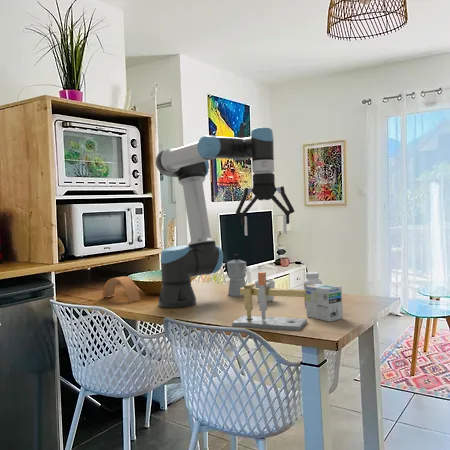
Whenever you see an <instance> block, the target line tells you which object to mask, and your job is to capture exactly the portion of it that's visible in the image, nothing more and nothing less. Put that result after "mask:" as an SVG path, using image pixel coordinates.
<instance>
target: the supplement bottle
mask: <svg viewBox="0 0 450 450" xmlns="http://www.w3.org/2000/svg"><path fill="white" fill-rule="evenodd" d="M319 276H320V272H316V271H309V272H306V273H305V277H306V278H305V280H303V290H306V286H307V285H314V284H323V281H322V280H321V279H320V278H319ZM303 298H304V308H306V297H303Z"/></svg>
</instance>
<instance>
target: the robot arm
mask: <svg viewBox="0 0 450 450" xmlns="http://www.w3.org/2000/svg"><path fill="white" fill-rule="evenodd" d="M250 131H251V132H250V136H248V137H233V136H232V137H231V136H229V137H228V136H216V135H210V134H209V135H203V136H201V137H200V138H199V140H198V141H195V142H193V143H189V144H187V145H184V146H181V147H177V148H171V147H169V148H166V149H162V150H160V151H159V152H158V154H157V156H156V158H155V166H156V168H157V170H158V171H159V172H160V173H161V175H163V176H166V177H169V178H177V179H178V180H177V181H178V183H179V184H180V185H181V186H182V189H183V197H184V202H185V210H186V211H185V212H186V215H187V223H188V231H189V237H190V242H189V243H188V244H186V245H185V244H182V245H181V244H180V245H176V246H175V245H174V246H170V247H167V248H164V249H162V251H161V252H160V267H161V269H160V271H161V290H160V293H159V296H158V307H161V308H164V309H165V308H166V309H178V308H187V307H192V306H195V305H196V304H197V297H196V295H195V292H194V289H193V287H192V281H191V280H192V279H191V278H192V277H197V276H203V275H204V276H205V275H212V274H216V273H218V272H219V271H220V270H221V268H222V265H223V262H224V252H223V250H222V249H221V247H220V246H219V245H217V244H216V241H215V239H213V238H212V237H211V235H212V234H211V230H210V228H211V227H210V222H209V215H208V211H207V210H208V209H207V203H206V198H205V191H204V184H203V183H204V182H205V181H206V177H207V176H208V174H209V169H210V165H209V164H210V163H209V161H211V160H215V159H230V160H234V161H245V160H248V159H251V166H252V167H251V169H252V173H253V175H252V188H249V187H245V188H244V189H243V195H242V198H241V199H240V202H239V204H238V206H237V209H236V211H235V215H237V216H240V225H241V226H242V227H243V226H244V236H248V217H247V216H246V214H247V213H248V212H249V210H250V209H251V208H252V206H253V205H254V204H255V203H256V202H257V201H269V200H272V202H274V203H275V205H277V207H278V208H279V209H280V210H281V211H282V212H283V215H282V226H283V227H282V231H283V234H284V235H287V234H288V232H287V231H288V230H287V226H288V225H289V224H290V215H291V214H293V213H294V212H295V209H294V207H293V205H292V203H291V201H290V199H289V198H288V196H287V194H286V190H285V187H284V185H283V186H282V185H281V186H279V187H276V183H275V182H276V179H275V174H274V172H275V154H274V135H273V129H272V128H270V127H255V128H253V129H251V130H250ZM251 192H252V194H253V195H254V197H252V199H251V201H250V202H249V203H248V205H247V206H246V207H244V209H243V211H242V208H243V206H244V204H245V202H246V200H247V198H248V195H250V194H251ZM276 192H278V194H280V195H281V197H282V200H283V201H284V203H285V205H286V207H287V208H286V207H285V206H284V205H283V203H281V201H280V200H279V199H278V198H277V196H275V194H276ZM241 211H242V212H241Z"/></svg>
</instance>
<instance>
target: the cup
mask: <svg viewBox="0 0 450 450" xmlns="http://www.w3.org/2000/svg"><path fill="white" fill-rule="evenodd" d="M254 283H255V288H259V287H258V280H256V281H254ZM266 283H270V289H275V287H276V286H275V284H276V281H275V280H272V279H266ZM274 297H275V296H267V303H268V302H273V300H274ZM256 299H257V301H259V295H256Z"/></svg>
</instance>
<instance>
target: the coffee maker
mask: <svg viewBox="0 0 450 450" xmlns="http://www.w3.org/2000/svg"><path fill="white" fill-rule="evenodd" d="M239 257H240V255H239V253H238V254H237V253H235V254H233V258H234V259H231V260H227V261H225V263H224V269H225V272H226V275H227V277H228V278H229V285H228V291H227V292H228V294H227V296H228V297H231V298H243V297H244V295H240V288H244V285H247V283H246V280H245V278H246V270H247V261H245V260H242V259H239Z"/></svg>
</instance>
